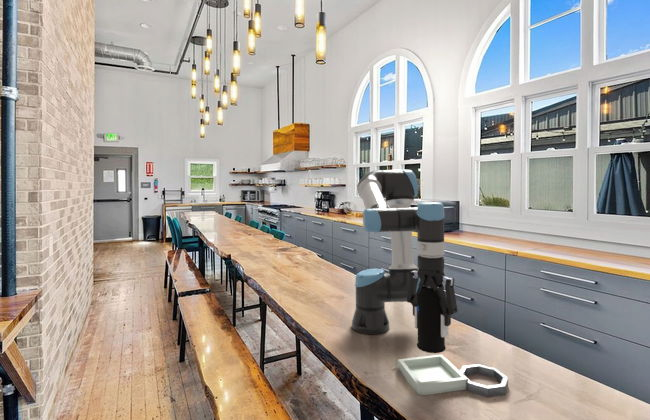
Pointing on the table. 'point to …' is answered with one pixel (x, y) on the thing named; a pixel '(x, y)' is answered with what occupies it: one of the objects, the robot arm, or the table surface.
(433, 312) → the aerosol can
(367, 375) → the table surface
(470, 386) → the collar
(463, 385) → the tray
